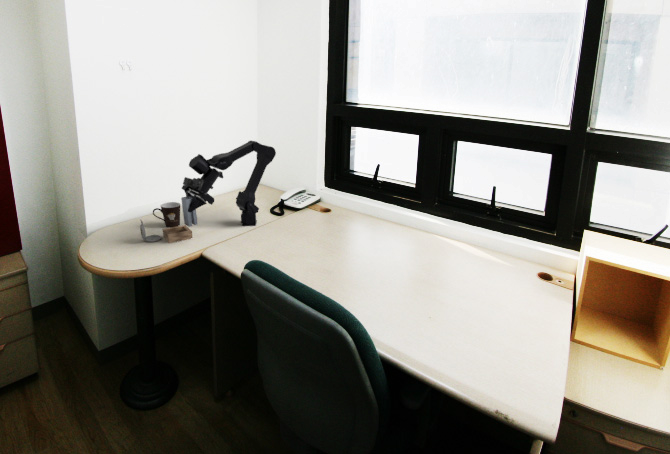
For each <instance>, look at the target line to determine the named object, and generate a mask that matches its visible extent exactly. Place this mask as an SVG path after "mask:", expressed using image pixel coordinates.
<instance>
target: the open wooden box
mask: <svg viewBox="0 0 670 454" xmlns="http://www.w3.org/2000/svg"><path fill="white" fill-rule="evenodd" d="M162 236H163V238H164V239H165V240H166V242H168V243H169V244H172V243H177V241H178V242H182V240H183V241H187V239H188V240H192V239H191V238H194V237H193V231H192V230H191V228H189V226H187V225H185V224H183V225H179V226H177V227H171V228H170V227H165V228H162Z"/></svg>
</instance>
